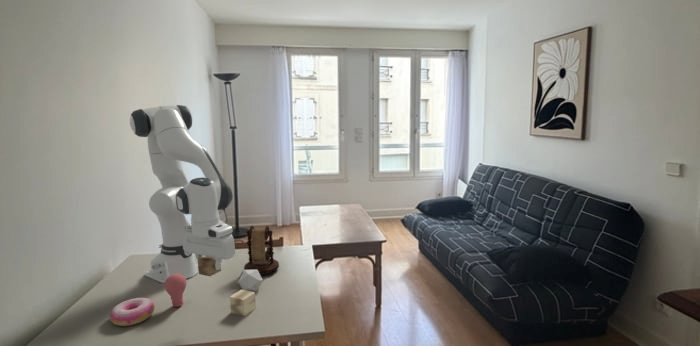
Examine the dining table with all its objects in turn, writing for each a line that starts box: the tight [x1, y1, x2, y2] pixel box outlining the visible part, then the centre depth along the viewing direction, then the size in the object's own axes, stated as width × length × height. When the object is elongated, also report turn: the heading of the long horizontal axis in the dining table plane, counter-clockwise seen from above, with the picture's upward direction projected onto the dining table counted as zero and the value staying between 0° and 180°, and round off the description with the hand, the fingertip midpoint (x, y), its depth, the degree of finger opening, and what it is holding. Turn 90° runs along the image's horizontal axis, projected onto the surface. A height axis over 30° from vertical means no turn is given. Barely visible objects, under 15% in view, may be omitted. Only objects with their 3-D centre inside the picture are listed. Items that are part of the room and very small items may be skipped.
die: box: [238, 269, 263, 292], centre depth 156 cm, size 8×9×10 cm
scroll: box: [243, 225, 280, 276], centre depth 174 cm, size 15×15×20 cm
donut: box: [109, 297, 155, 327], centre depth 137 cm, size 14×13×5 cm
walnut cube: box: [197, 256, 222, 277], centre depth 134 cm, size 5×5×5 cm
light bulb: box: [164, 274, 187, 308], centre depth 144 cm, size 7×7×12 cm
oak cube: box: [229, 288, 257, 317], centre depth 140 cm, size 6×6×6 cm
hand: (209, 267), depth 134 cm, fingers closed on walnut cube, 5 cm apart
